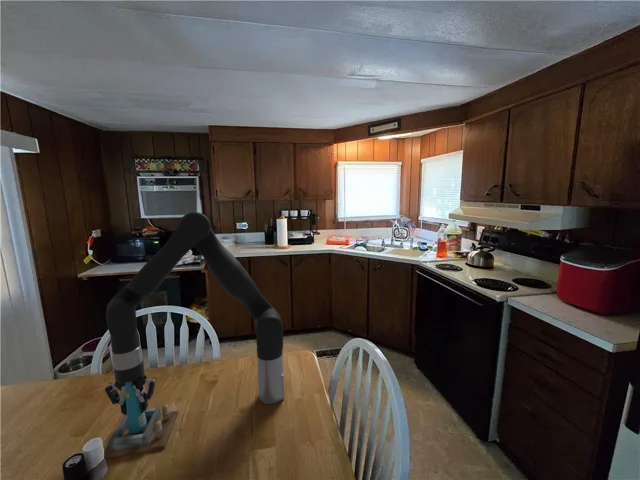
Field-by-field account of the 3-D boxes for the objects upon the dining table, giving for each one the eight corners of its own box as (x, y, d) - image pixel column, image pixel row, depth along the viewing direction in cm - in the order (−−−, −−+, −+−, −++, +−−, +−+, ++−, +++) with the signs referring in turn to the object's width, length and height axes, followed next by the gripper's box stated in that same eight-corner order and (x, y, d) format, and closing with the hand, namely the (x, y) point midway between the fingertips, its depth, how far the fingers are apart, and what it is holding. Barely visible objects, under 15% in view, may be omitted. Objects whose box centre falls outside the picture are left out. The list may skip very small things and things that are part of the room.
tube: (131, 421, 94) (123, 367, 91) (148, 416, 96) (141, 363, 93) (126, 439, 87) (117, 381, 84) (144, 434, 89) (137, 377, 86)
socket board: (177, 413, 101) (176, 397, 99) (164, 448, 87) (162, 430, 86) (126, 421, 98) (124, 404, 96) (104, 458, 84) (101, 439, 83)
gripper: (158, 352, 92) (163, 400, 95) (108, 357, 90) (115, 406, 93) (149, 366, 85) (155, 417, 88) (94, 372, 83) (103, 425, 86)
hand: (135, 411), depth 90 cm, fingers closed on tube, 4 cm apart
